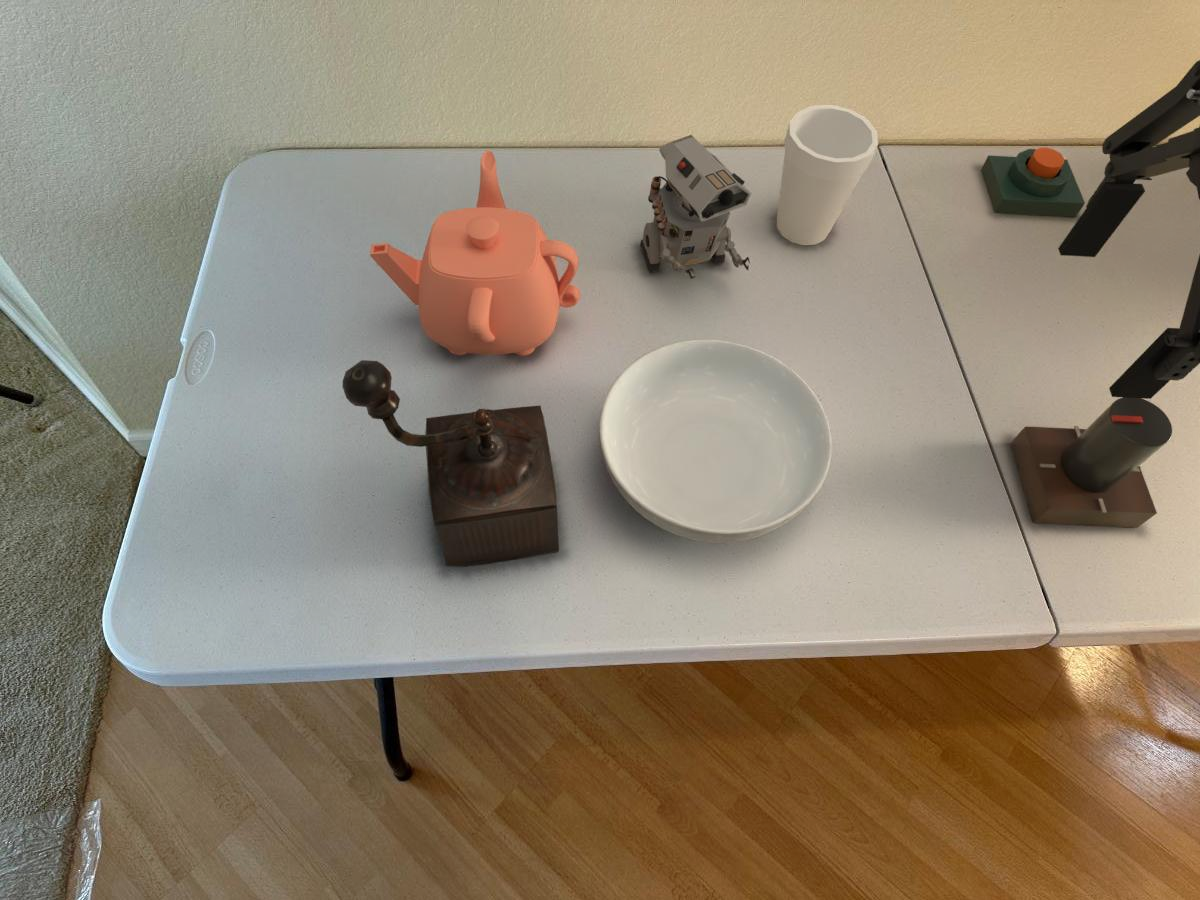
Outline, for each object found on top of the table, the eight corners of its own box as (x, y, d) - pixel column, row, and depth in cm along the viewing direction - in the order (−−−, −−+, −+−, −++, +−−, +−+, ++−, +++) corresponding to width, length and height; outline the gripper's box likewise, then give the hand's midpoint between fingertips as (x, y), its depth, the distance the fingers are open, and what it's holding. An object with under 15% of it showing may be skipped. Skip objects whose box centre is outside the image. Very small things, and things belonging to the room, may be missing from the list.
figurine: (661, 313, 88) (677, 206, 76) (636, 239, 94) (647, 128, 81) (740, 301, 90) (769, 194, 77) (711, 229, 95) (734, 118, 83)
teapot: (384, 323, 86) (357, 226, 75) (495, 240, 93) (486, 140, 82) (492, 406, 81) (481, 316, 70) (601, 312, 88) (607, 216, 77)
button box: (1058, 173, 103) (1075, 147, 100) (1075, 217, 99) (1093, 191, 95) (980, 169, 103) (994, 142, 99) (994, 213, 99) (1009, 186, 95)
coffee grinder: (544, 450, 78) (539, 330, 63) (561, 554, 73) (560, 449, 58) (382, 471, 77) (336, 352, 61) (386, 579, 71) (337, 478, 56)
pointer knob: (1108, 446, 78) (1162, 395, 70) (1125, 493, 75) (1183, 446, 68) (1054, 443, 77) (1104, 393, 70) (1069, 491, 75) (1122, 443, 68)
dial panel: (1108, 445, 81) (1127, 428, 79) (1138, 529, 76) (1159, 514, 74) (1010, 440, 81) (1025, 423, 78) (1033, 525, 76) (1050, 509, 73)
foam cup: (747, 224, 96) (771, 130, 85) (794, 188, 100) (823, 93, 89) (811, 267, 93) (844, 175, 82) (857, 228, 96) (895, 135, 85)
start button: (1052, 160, 99) (1059, 148, 97) (1060, 180, 97) (1068, 168, 95) (1023, 158, 99) (1030, 146, 97) (1030, 178, 97) (1037, 166, 95)
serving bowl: (690, 347, 86) (699, 303, 80) (854, 466, 79) (877, 427, 73) (551, 467, 77) (550, 428, 72) (721, 612, 70) (735, 582, 65)
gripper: (1178, -79, 48) (1012, 200, 66) (1372, 211, 35) (1099, 460, 53) (1302, -72, 48) (1102, 205, 66) (1541, 220, 35) (1212, 466, 53)
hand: (1101, 319), depth 60 cm, fingers open, 13 cm apart
